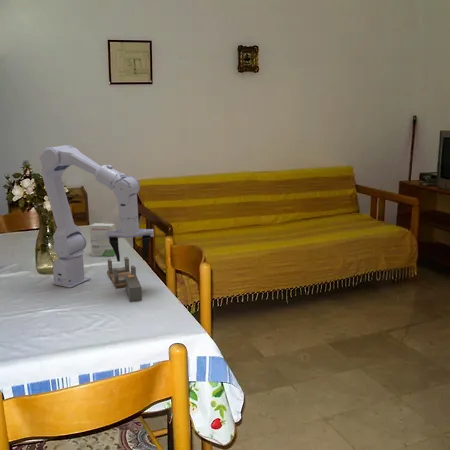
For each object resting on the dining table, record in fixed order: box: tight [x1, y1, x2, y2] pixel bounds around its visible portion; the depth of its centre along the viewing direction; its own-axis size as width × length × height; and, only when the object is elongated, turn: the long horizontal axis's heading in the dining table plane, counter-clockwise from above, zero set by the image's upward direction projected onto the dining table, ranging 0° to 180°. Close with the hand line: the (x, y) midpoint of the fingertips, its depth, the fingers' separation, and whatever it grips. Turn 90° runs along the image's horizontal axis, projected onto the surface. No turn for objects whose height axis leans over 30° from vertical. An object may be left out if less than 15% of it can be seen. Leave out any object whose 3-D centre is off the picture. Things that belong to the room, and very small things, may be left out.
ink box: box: [89, 222, 116, 257], centre depth 203 cm, size 9×5×12 cm, turn 84°
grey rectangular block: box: [124, 273, 143, 303], centre depth 163 cm, size 12×4×5 cm, turn 17°
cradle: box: [106, 256, 137, 289], centre depth 176 cm, size 16×7×6 cm, turn 22°
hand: (131, 259), depth 165 cm, fingers open, 7 cm apart
